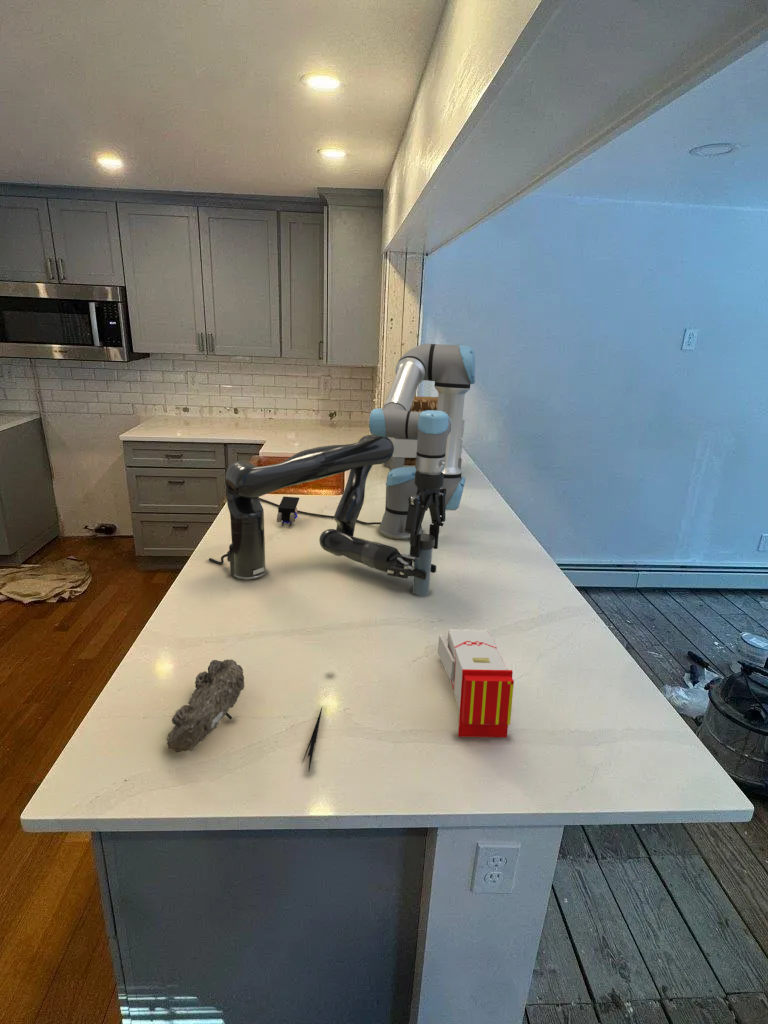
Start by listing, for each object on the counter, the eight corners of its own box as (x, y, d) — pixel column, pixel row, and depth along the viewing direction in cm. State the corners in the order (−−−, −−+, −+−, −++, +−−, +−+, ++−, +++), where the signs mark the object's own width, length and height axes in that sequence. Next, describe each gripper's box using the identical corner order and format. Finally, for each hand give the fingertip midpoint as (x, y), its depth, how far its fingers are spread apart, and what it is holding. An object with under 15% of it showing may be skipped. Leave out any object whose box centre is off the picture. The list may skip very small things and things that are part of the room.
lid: (422, 539, 158) (422, 531, 158) (438, 544, 155) (439, 537, 154) (410, 544, 154) (410, 537, 154) (426, 550, 151) (427, 543, 150)
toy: (488, 613, 130) (523, 677, 101) (484, 667, 133) (517, 744, 104) (435, 612, 130) (455, 676, 101) (432, 666, 133) (451, 743, 103)
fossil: (192, 660, 117) (244, 628, 112) (224, 691, 120) (276, 661, 115) (142, 746, 98) (202, 712, 93) (182, 779, 101) (242, 748, 96)
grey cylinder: (432, 591, 160) (436, 539, 155) (422, 597, 157) (426, 544, 151) (419, 586, 163) (422, 535, 157) (409, 592, 159) (412, 539, 154)
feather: (331, 679, 122) (336, 673, 122) (307, 777, 96) (313, 769, 95) (324, 675, 122) (329, 669, 121) (298, 772, 95) (304, 764, 95)
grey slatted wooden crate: (382, 463, 289) (386, 382, 275) (445, 464, 293) (451, 384, 279) (390, 482, 257) (394, 392, 243) (460, 483, 261) (468, 394, 247)
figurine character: (295, 532, 200) (300, 513, 214) (294, 513, 197) (299, 495, 210) (276, 531, 200) (282, 512, 213) (275, 512, 197) (281, 494, 210)
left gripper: (365, 552, 158) (418, 569, 149) (393, 537, 169) (444, 552, 160) (365, 576, 160) (417, 594, 152) (392, 560, 172) (442, 575, 163)
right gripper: (416, 481, 138) (411, 566, 146) (463, 467, 153) (456, 545, 160) (393, 475, 143) (389, 558, 150) (441, 461, 157) (435, 537, 165)
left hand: (430, 572), depth 156 cm, fingers closed on grey cylinder, 4 cm apart
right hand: (423, 551), depth 155 cm, fingers open, 8 cm apart
